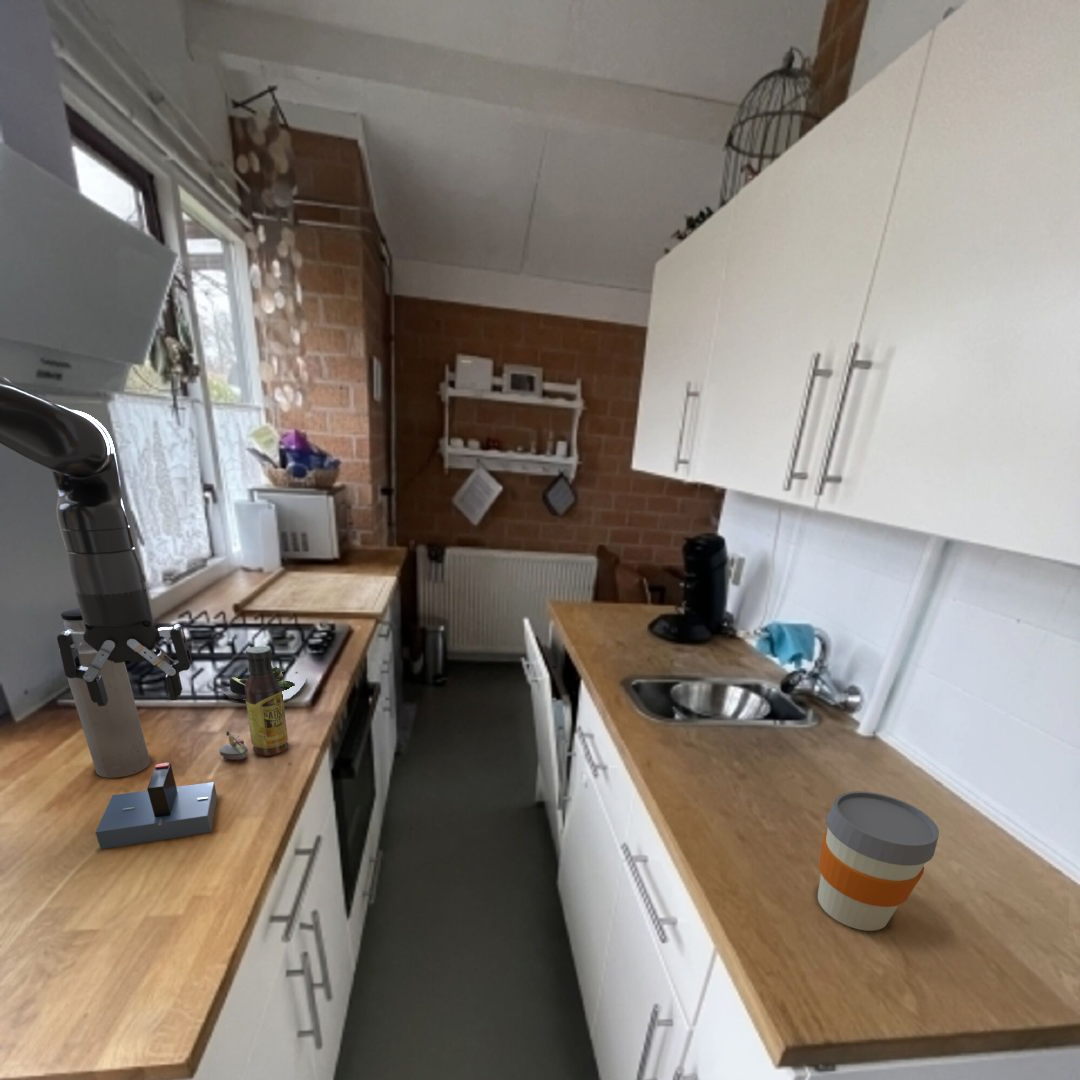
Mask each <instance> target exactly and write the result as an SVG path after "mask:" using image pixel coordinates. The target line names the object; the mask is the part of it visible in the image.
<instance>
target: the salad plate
mask: <svg viewBox="0 0 1080 1080" xmlns="http://www.w3.org/2000/svg"><path fill="white" fill-rule="evenodd" d="M272 669H273V673H274V676H275V678H276V679H280V678H282V677H283V674H282V672H283V671H282V669H281V667H280V668H277V667H275V668H273V667H272ZM246 682H247V679H238V678H236V677H235V676H231V677H230V679H229V682H228V683H230V690H231V691H232V692H233V693H236V694H238V695H246V693H245V684H246ZM278 684H279V686H280V688H281V690H282V691H284V690H287V689H289V688H290V687H292V686H295V683H293V682H290V681H284V680H282V681H278ZM231 691H230V692H231ZM225 697H226V698H228V700H230V701H232V702H236V703H242V704H246V700H243V699H233V698H229V697H227V696H225Z"/></svg>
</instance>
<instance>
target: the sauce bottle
mask: <svg viewBox="0 0 1080 1080" xmlns="http://www.w3.org/2000/svg"><path fill="white" fill-rule="evenodd" d="M245 657H246V659H247V661H248V662H247V663H248V672H249V673H250V676H249V678H248V680H247V682H246V684H245V693H246V703H245V705H246V712H247V719H248V726H249V733H250V740H251V744H252V750H253V752H254V753H255V754H257V755H259V756H263V757H264V756H265V757H266V756H274V755H279V754H281V753H283V752H284V751H285V750H286V749H287V748H288V745H289V744H288V740H289V738H288V729H287V720H286V712H285V711H286V710H285V703H284V702H285V701H283V694H282V690H281V688H280V686H279V684H278V682H277V680H276V678H275V676H274V673H273V669H272V666H273V664H272V651H271V648H270V647H268V646H262V645H261V646H251V647H248V648H246V650H245Z"/></svg>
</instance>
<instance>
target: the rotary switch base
mask: <svg viewBox="0 0 1080 1080" xmlns="http://www.w3.org/2000/svg"><path fill="white" fill-rule="evenodd" d="M176 787H177V793H176V797H175V800H174V804H173V807H172V811H171V814H170V815H168V816H161V817H155V816H154V813H153V809H152V805H151V801H150V798H149V794H148V790H141V791H132V792H125V793H118V794H112V795H111V797H110V800H109V802H108V804H107V806H106V808H105V810H104V812H103V815H102V817H101V819H100V821H99V823H98V825H97V828H96V830H95V836H96V839H97V842H98V845H99V848H100V850H104V849H112V848H118V847H124V846H131V845H137V844H144V843H150V842H156V841H157V842H158V841H162V840H163V841H164V840H170V839H176V838H182V837H188V836H189V837H190V836H195V835H201V834H208V833H212V828H213V824H214V817H215V813H216V806H217V802H218V794H217V789H216V784H215V782H214V781H211V782H202V783H194V784H187V785H179V786H176Z"/></svg>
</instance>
